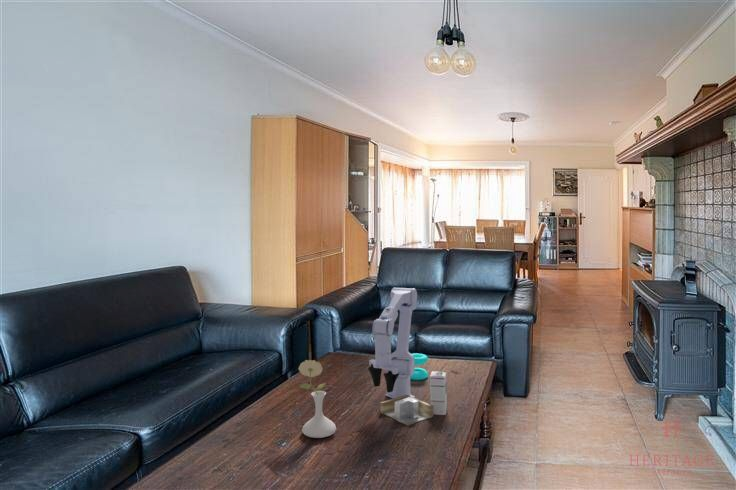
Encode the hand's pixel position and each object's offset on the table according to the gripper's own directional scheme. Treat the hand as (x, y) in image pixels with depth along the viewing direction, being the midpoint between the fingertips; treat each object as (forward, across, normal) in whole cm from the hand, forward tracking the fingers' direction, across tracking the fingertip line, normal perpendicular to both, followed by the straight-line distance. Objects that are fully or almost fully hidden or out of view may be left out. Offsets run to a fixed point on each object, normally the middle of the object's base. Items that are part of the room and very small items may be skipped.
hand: (383, 388), depth 178 cm
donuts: (+10, -25, +39) cm, 47 cm away
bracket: (+9, +8, +4) cm, 13 cm away
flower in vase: (+10, -2, -27) cm, 29 cm away
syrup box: (+10, +10, +18) cm, 23 cm away
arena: (+10, +5, +7) cm, 13 cm away
